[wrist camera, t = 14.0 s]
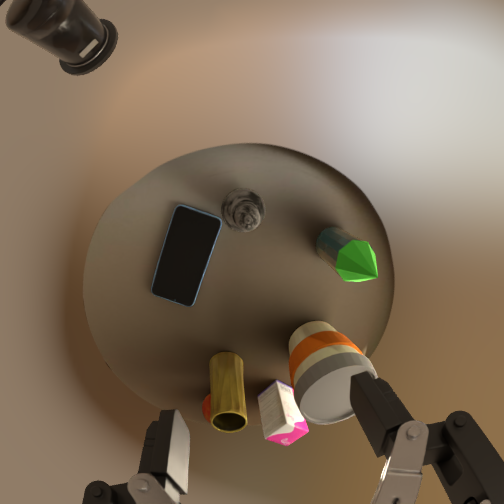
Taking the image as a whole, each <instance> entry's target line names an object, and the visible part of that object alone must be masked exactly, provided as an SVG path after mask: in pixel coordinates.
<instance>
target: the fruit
mask: <svg viewBox="0 0 504 504" xmlns="http://www.w3.org/2000/svg"><path fill="white" fill-rule="evenodd" d="M202 411H203V414H204V417H205V418H206V420H207V421H208V422H210V423H211V420H210V412H211V393H210V394H209V395H208V396H207V397H206V398H205V399H204V401H203V405H202Z"/></svg>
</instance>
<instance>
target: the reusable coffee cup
mask: <svg viewBox="0 0 504 504" xmlns="http://www.w3.org/2000/svg"><path fill="white" fill-rule="evenodd" d="M289 353H290V358H289V371H290V379H291V385H292V388H293V390H294V392H293V393H294V400H295V403H296V405H297V407H298V409H299V411H300V413H301V415H302V416H303V417H304V419H306V420H307V421H309V422H311V423H315V424H333V423H337V422H340V421H343V420H345V419H348V418H350V417H352V416H354V415H355V413H354V411H353V409H352V407H351V404H350V398H349V395H350V379H351V376H352V375H355V374H358V373H361V372H364V371H367V372H368V373H369V374H370V375H371V377H372V378H373V379H376V378H378V376H377V374H376V371H375V369H374V368H373V366H372V364H371V362H370V361H369V359H368V358H367V357H365V356H364V355H362V352H361V351H360V350H359V349H358V348H357V347H356V346H355V345H354V344H353V343H352V342H351V341H350V340H349V339H348V338H347V337H346V336H345V335H343V334H342V333H339V332H337V331H336V330H335V329H334V328H333V327H332V326H331V325H330V324H328V323H326V322H323V321H312V322H308V323H306V324H304V325H302V326H300V327H299V328H298V329H296V331H295V332H294V333H293V334H292V336H291V338H290V340H289Z"/></svg>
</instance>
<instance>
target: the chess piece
mask: <svg viewBox="0 0 504 504" xmlns="http://www.w3.org/2000/svg"><path fill="white" fill-rule="evenodd" d="M221 213H222V217H223V220H224V222H225V223H226V224H227V225H228V226H229V227H230V228H231V229H233V230H235V231H238V232H248V231H252V230H254V229H255V228H257V227H258V226H259V225H260V224H261V223H262V221H263V219H264V216H265V204H264V201H263V199H262V197H261V196H260V195H259V194H258V193H256V192H255V191H253V190H250V189H237V190H234V191H233V192H231V193H230V194H228V195H227V196H226V198H225V199H224V201H223V204H222V209H221Z"/></svg>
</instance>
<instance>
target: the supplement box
mask: <svg viewBox="0 0 504 504" xmlns="http://www.w3.org/2000/svg"><path fill="white" fill-rule="evenodd" d="M293 392H294V390H293V388H292V387H290V386H288V385H286V384H284V383H282V382H281V381H279V380H277V379H276V380H275V381H274V382H273V383H271V384H270V385H269V386H268V387H267V388H266V389H264V390H263V391H262V392H261V393H260V394H259V395H258V402H259V408H260V414H261V420H262V426H263V432H264V438H265V439H267V440H270V441H273V442H276V443H279V444H282V445H285V446H288V445H289V444H291V443H292V442H294V441H295V440H297V439H298V438H300V437H301V436H303V435H304V434H306V433H307V432H309V430H308V427H307V424H306V421H305V419H304V417H303V416H302V415H301V413H300V411H299V409H298V407H297V405H296V403H295V400H294V393H293Z"/></svg>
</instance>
